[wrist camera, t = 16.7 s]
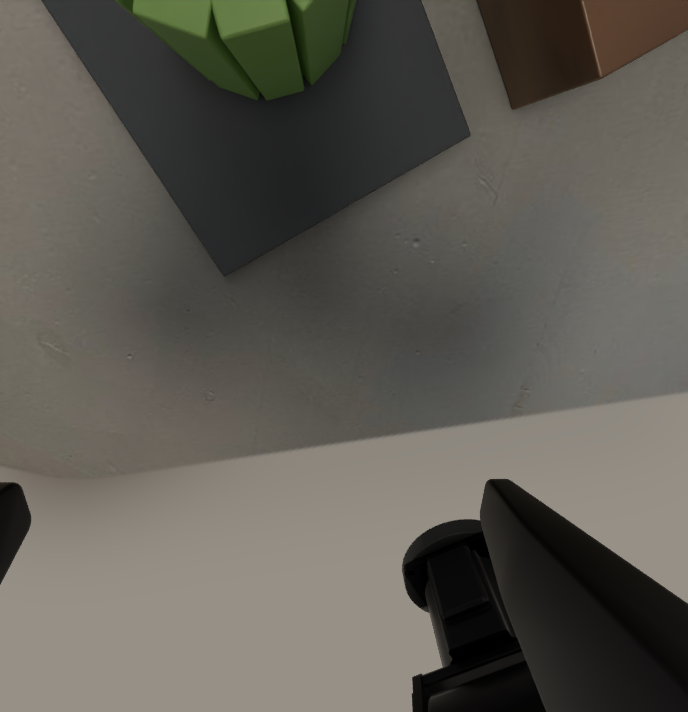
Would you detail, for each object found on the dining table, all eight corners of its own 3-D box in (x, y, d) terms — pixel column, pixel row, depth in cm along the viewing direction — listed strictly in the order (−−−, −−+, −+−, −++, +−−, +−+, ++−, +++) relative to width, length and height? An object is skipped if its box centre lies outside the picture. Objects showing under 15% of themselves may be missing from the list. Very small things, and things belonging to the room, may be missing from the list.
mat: (467, 136, 18) (471, 135, 17) (226, 274, 20) (223, 277, 19) (294, -329, 13) (293, -347, 12) (-11, -85, 14) (-22, -94, 14)
